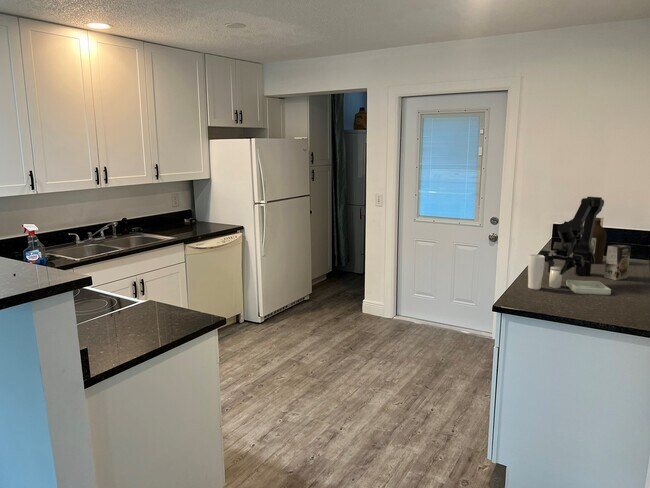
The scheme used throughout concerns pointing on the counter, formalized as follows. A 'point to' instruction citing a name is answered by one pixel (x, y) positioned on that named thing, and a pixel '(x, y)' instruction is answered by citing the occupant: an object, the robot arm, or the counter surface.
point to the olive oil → (598, 241)
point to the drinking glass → (535, 271)
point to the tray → (588, 287)
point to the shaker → (555, 277)
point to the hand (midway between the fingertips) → (554, 273)
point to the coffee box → (617, 262)
